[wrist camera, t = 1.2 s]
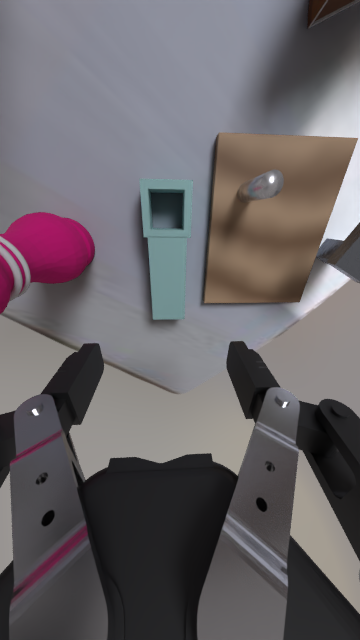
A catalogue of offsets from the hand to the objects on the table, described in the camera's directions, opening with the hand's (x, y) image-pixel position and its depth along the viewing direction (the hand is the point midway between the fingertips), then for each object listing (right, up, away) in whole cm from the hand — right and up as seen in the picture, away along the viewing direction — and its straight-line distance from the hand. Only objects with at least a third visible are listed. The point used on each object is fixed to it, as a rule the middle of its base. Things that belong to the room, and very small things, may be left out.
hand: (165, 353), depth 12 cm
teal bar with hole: (-1, +11, +14) cm, 18 cm away
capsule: (+8, +18, +11) cm, 22 cm away
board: (+12, +14, +13) cm, 23 cm away
